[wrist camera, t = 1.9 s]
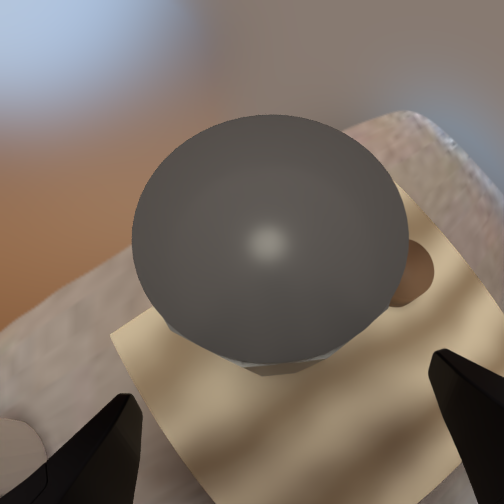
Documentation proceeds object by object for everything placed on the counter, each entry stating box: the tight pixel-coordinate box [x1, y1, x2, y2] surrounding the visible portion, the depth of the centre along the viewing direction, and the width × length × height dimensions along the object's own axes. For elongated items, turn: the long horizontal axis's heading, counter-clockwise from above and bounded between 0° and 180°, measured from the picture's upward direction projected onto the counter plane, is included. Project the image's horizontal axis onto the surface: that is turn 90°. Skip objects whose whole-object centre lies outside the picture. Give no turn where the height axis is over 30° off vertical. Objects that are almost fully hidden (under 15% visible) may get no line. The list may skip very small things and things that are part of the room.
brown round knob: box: [389, 239, 434, 307], centre depth 19 cm, size 4×4×2 cm
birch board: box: [110, 179, 504, 504], centre depth 18 cm, size 22×24×1 cm
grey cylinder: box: [132, 115, 409, 376], centre depth 14 cm, size 7×7×12 cm
